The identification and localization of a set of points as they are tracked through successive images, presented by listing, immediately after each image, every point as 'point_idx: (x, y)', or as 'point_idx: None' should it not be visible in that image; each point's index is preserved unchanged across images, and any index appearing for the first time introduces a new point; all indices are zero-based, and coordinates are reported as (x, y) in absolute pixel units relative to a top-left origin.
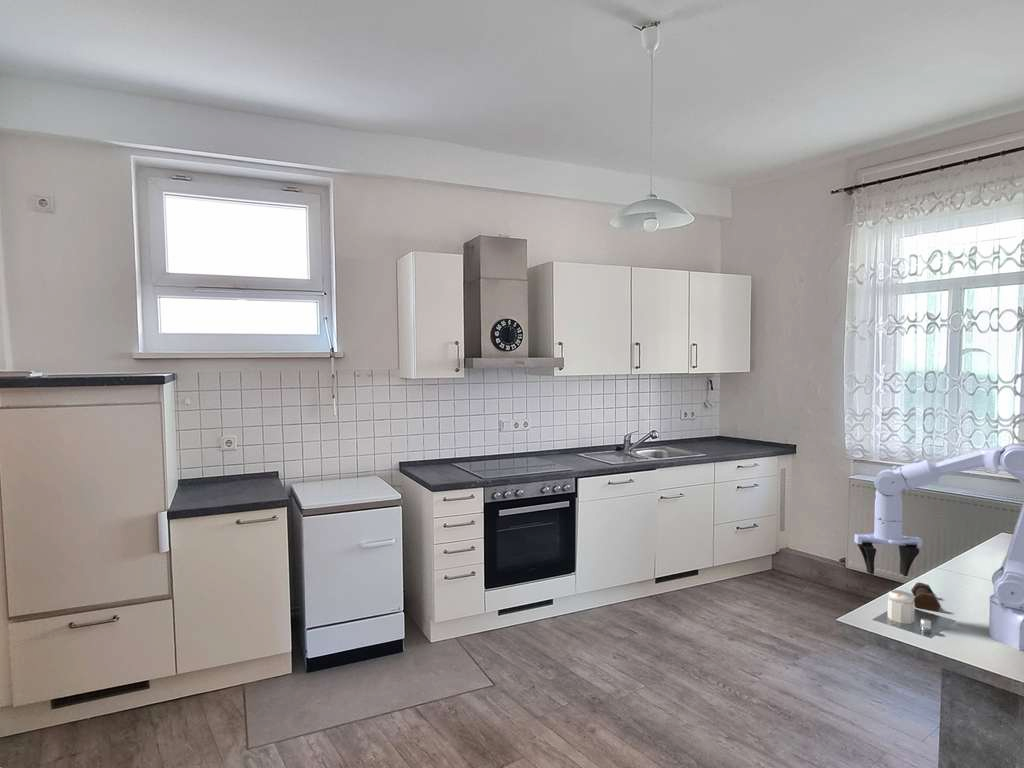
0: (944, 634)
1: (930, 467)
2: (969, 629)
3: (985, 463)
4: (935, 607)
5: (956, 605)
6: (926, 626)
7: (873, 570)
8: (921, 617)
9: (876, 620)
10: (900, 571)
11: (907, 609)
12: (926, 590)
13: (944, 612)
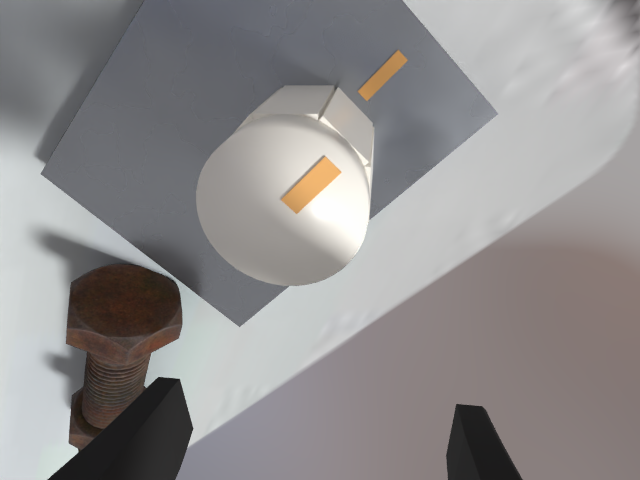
0: None
1: None
2: (7, 118)
3: None
4: (96, 279)
5: (21, 353)
6: None
7: (472, 435)
8: (192, 188)
9: (477, 101)
10: (186, 442)
11: (286, 104)
12: (89, 405)
13: None
